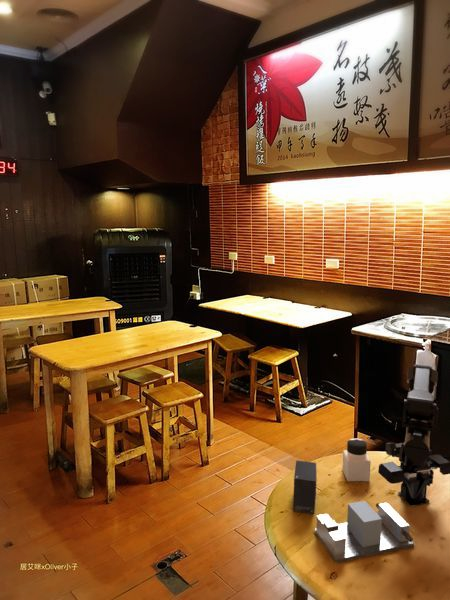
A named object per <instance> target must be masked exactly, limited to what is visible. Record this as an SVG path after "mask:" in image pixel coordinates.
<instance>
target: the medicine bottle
mask: <svg viewBox="0 0 450 600" xmlns="http://www.w3.org/2000/svg"><path fill="white" fill-rule="evenodd" d="M346 445H347V446H346V447H347V449H343V450H342V468H341V469H342V473H343V475H344V476H345V479H346V481H347V482H369V481H370V479H371V478H370V476H371V460H370V458H369V456H368V454H367V452H368V451H367V449H368V448H367V447H368V444H367V441H365V440H363V439H361V438H357V437H356V438H350V439H349V440H347V444H346Z"/></svg>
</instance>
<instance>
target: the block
mask: <svg viewBox="0 0 450 600" xmlns="http://www.w3.org/2000/svg"><path fill="white" fill-rule="evenodd" d="M346 518H347V519H346V523H347V528H348V529H349V531H350V532H351V533H352V534H353V536H354V537H355V538H356V539H357V541H358V542H359V543H360V544H361V546H362V547H366V546H371V545H376V544H380V542H381V524H382V519H381V517H380V516H379V515H378V512H376V511H375V510H374V509H373V507H371V505H370V504H369V503H368V502H367V501H365V500H362V501H355V502H350V503H347V517H346Z"/></svg>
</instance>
